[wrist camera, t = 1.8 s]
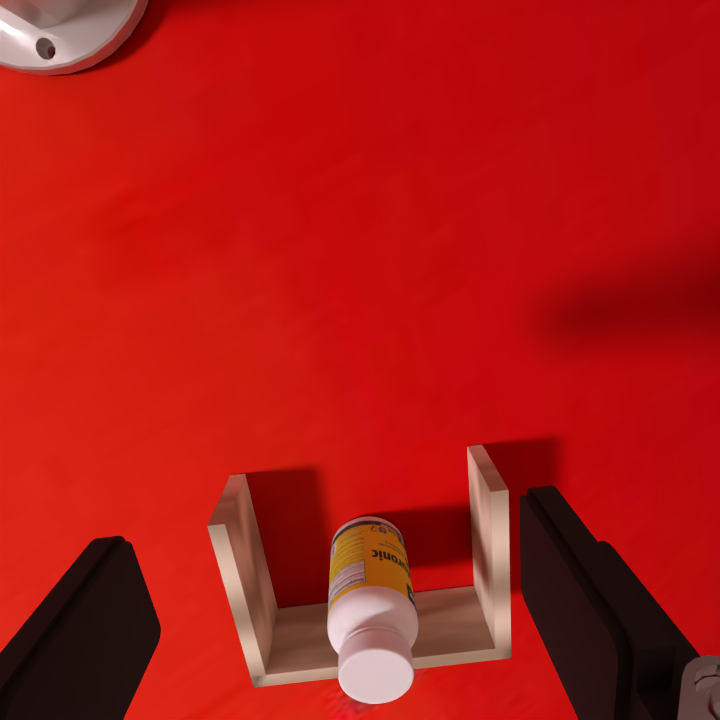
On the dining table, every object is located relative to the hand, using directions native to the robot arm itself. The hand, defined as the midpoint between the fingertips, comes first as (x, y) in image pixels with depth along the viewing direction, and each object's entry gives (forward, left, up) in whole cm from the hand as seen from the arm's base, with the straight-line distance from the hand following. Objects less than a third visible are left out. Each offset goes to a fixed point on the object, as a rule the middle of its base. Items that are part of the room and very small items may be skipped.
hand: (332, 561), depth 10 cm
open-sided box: (+14, 0, -17) cm, 22 cm away
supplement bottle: (+15, 0, -17) cm, 23 cm away
